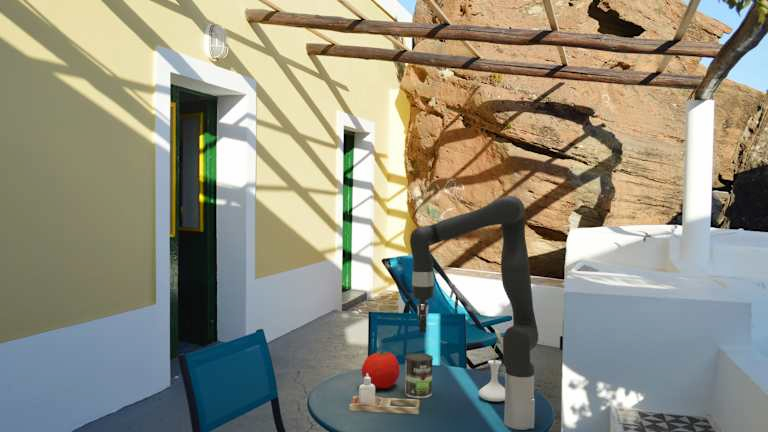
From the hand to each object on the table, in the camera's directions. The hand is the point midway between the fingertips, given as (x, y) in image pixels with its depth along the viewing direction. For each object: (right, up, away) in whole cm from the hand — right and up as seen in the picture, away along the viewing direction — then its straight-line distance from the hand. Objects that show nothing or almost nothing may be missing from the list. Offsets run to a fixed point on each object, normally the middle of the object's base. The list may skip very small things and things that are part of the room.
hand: (422, 329), depth 213 cm
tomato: (-15, -26, +21) cm, 37 cm away
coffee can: (-1, -27, +15) cm, 31 cm away
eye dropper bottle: (-20, -28, +1) cm, 34 cm away
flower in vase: (+27, -27, +11) cm, 40 cm away
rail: (-13, -27, 0) cm, 30 cm away
